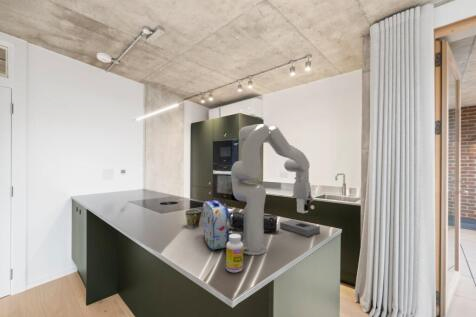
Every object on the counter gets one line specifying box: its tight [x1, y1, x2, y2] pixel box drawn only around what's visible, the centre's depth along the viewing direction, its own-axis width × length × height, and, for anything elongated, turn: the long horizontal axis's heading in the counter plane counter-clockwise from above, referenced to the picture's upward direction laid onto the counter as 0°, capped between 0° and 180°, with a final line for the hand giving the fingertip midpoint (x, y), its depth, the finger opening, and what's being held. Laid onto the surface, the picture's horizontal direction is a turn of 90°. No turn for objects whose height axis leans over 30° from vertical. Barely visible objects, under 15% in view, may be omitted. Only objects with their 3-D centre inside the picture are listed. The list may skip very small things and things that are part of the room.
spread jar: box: [227, 208, 234, 231], centre depth 136 cm, size 12×11×12 cm
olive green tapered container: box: [184, 209, 202, 229], centre depth 136 cm, size 13×10×10 cm
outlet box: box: [279, 218, 321, 238], centre depth 130 cm, size 12×20×4 cm, turn 38°
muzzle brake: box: [230, 211, 278, 233], centre depth 131 cm, size 10×28×10 cm, turn 78°
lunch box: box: [201, 199, 232, 251], centre depth 110 cm, size 28×10×22 cm, turn 21°
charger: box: [296, 198, 309, 214], centre depth 129 cm, size 5×5×8 cm
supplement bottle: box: [225, 233, 244, 273], centre depth 84 cm, size 7×7×13 cm
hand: (302, 209), depth 129 cm, fingers closed on charger, 4 cm apart
